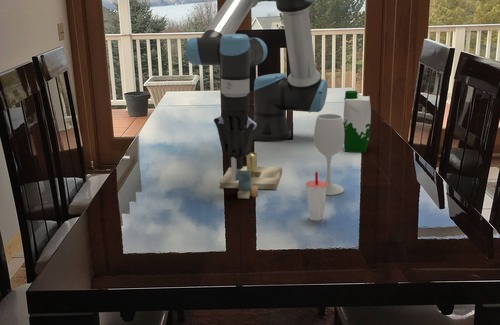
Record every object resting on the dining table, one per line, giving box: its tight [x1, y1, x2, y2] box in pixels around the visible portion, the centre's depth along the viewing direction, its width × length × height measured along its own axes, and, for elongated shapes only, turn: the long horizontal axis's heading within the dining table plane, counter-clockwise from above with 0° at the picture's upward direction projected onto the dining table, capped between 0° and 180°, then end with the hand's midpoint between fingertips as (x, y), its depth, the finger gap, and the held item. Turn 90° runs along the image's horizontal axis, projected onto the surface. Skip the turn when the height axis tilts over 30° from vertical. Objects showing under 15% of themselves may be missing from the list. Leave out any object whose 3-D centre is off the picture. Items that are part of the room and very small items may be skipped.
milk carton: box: [342, 90, 372, 154], centre depth 208 cm, size 9×9×20 cm
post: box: [246, 152, 258, 177], centre depth 180 cm, size 3×3×8 cm
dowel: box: [250, 186, 259, 198], centre depth 168 cm, size 2×2×3 cm
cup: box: [305, 171, 328, 222], centre depth 150 cm, size 5×5×12 cm
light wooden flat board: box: [219, 165, 283, 200], centre depth 176 cm, size 16×24×6 cm, turn 171°
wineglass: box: [313, 113, 345, 196], centre depth 168 cm, size 9×9×21 cm
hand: (236, 179), depth 169 cm, fingers closed
